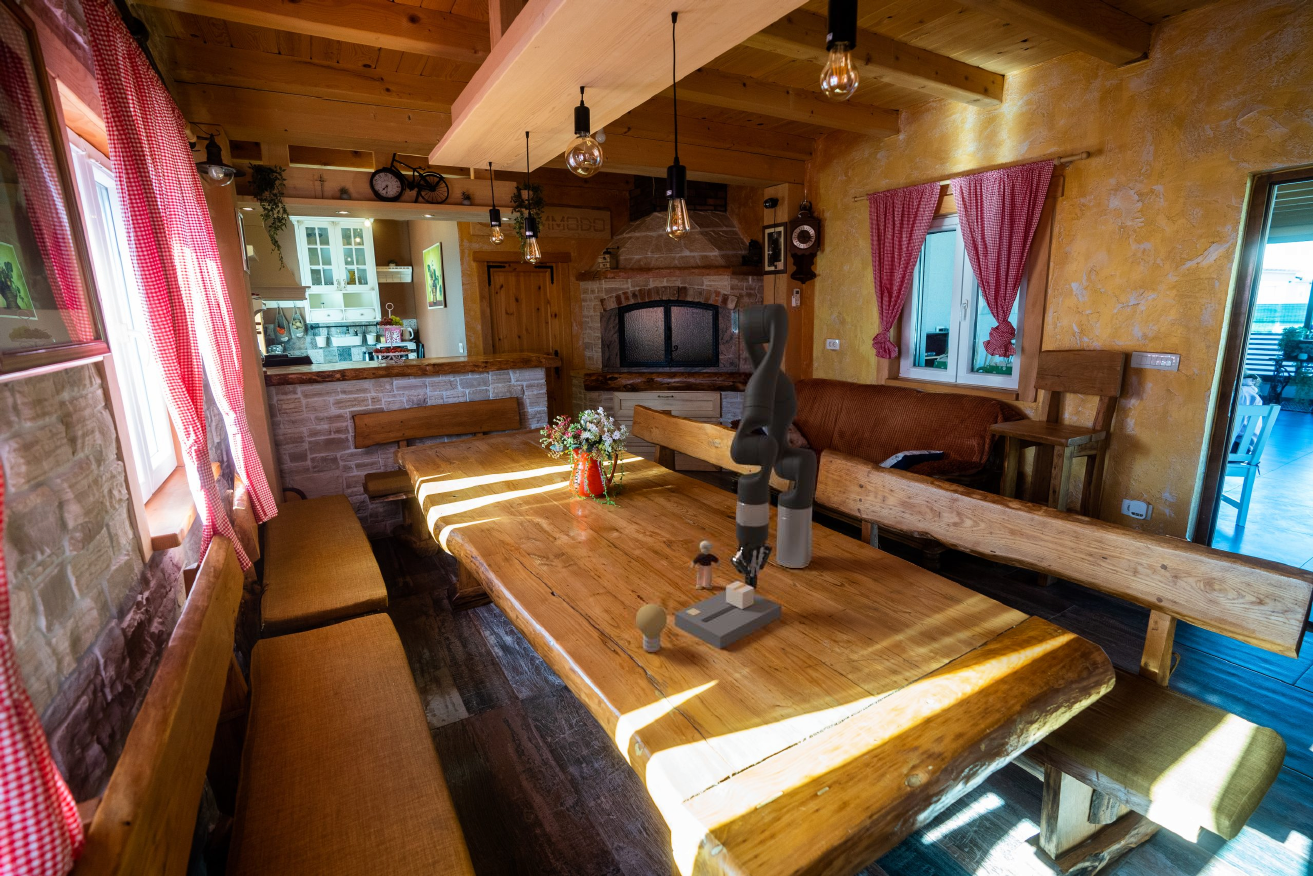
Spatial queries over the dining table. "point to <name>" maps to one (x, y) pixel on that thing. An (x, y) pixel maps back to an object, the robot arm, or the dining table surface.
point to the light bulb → (651, 625)
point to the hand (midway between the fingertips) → (750, 588)
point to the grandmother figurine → (705, 566)
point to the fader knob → (740, 594)
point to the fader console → (726, 619)
